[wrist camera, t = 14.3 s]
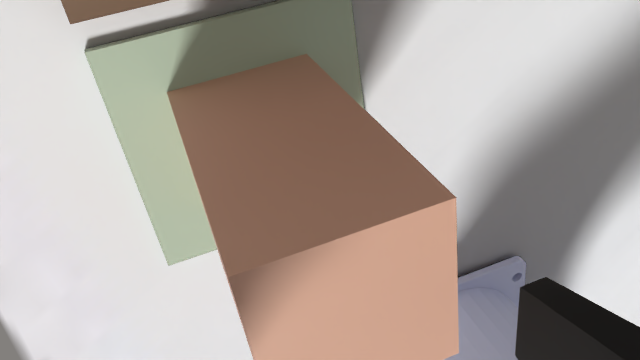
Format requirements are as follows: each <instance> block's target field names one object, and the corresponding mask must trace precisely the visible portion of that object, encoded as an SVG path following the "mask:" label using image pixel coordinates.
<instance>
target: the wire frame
mask: <svg viewBox="0 0 640 360" xmlns="http://www.w3.org/2000/svg"><path fill="white" fill-rule="evenodd" d="M165 1H169V0H61V2H62V4H63V7H64V9H65V12H66V14H67V17H68V20H69V22H70V24H74V23H78V22H82V21H86V20H90V19H94V18H99V17H103V16H107V15H111V14H115V13H119V12H123V11H127V10H132V9H136V8H140V7H144V6H148V5H152V4H156V3H161V2H165Z"/></svg>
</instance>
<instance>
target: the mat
mask: <svg viewBox="0 0 640 360" xmlns="http://www.w3.org/2000/svg"><path fill="white" fill-rule="evenodd" d="M304 54H307V55H308V56H309V57H310V58H311V59H312V60H314V61H315V62H316V63H317V64H318V65H319V66H320V67H321V68H322V69H323V70H324V71H325V72H326V73H327V74H328V75H329V76H330V77H331V78H332V79H333V80H334V81H335V82H336V83H337V84H338V85H340V86H341V87H342V88H343V89H344V90H345V91H346V92H347V93H348V94H349V95H350V96H351V97H352V98H353V99H354V100H355V101H356V102H357V103H358V104H359V105H360V106H361V107H362V108H363V109H364V104H363V96H362V87H361V78H360V70H359V61H358V53H357V44H356V35H355V27H354V18H353V10H352V1H351V0H279V1H275V2H271V3H267V4H263V5H259V6H255V7H251V8H247V9H243V10H239V11H235V12H231V13H227V14H223V15H219V16H216V17H212V18H208V19H204V20H200V21H196V22H192V23H188V24H184V25H180V26H176V27H172V28H168V29H164V30H160V31H156V32H152V33H148V34H144V35H140V36H136V37H132V38H128V39H124V40H120V41H116V42H112V43H108V44H104V45H100V46H96V47H92V48H88V49H85V55H86V57H87V60H88V62H89V65H90V67H91V70H92V73H93V75H94V78H95V80H96V83H97V85H98V88H99V90H100V93H101V95H102V98H103V100H104V103H105V106H106V108H107V111H108V113H109V116H110V118H111V121H112V123H113V126H114V128H115V131H116V134H117V136H118V139H119V141H120V144H121V146H122V149H123V151H124V154H125V156H126V159H127V162H128V164H129V167H130V169H131V172H132V174H133V177H134V179H135V182H136V184H137V187H138V189H139V192H140V195H141V197H142V200H143V202H144V205H145V207H146V210H147V212H148V215H149V217H150V220H151V223H152V225H153V228H154V230H155V233H156V235H157V238H158V240H159V243H160V245H161V248H162V251H163V253H164V256H165V258H166V261H167V263H168V266H169V265H172V264H175V263H178V262H181V261H184V260H187V259H190V258H193V257H196V256H199V255H202V254H205V253H208V252H211V251H214V250H217V246H216V243H215V240H214V237H213V234H212V231H211V228H210V225H209V222H208V219H207V216H206V213H205V210H204V207H203V204H202V201H201V197H200V194H199V191H198V188H197V185H196V182H195V179H194V176H193V173H192V170H191V166H190V163H189V160H188V157H187V154H186V151H185V148H184V145H183V142H182V139H181V135H180V132H179V129H178V126H177V123H176V120H175V117H174V114H173V111H172V107H171V104H170V101H169V98H168V95H167V92H169V91H172V90H176V89H180V88H183V87H187V86H191V85H194V84H198V83H202V82H205V81H209V80H212V79H216V78H220V77H223V76H227V75H231V74H234V73H238V72H242V71H245V70H249V69H253V68H256V67H260V66H264V65H267V64H271V63H275V62H278V61H282V60H285V59H289V58H293V57H296V56H300V55H304Z"/></svg>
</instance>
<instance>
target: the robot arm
mask: <svg viewBox="0 0 640 360" xmlns="http://www.w3.org/2000/svg"><path fill="white" fill-rule="evenodd" d="M525 275H526V262H525V261H524V260H523V259H522V258H521V257H519V256H515V257H511V258H509V259H506V260H504V261H501V262H498V263H496V264H493V265H491V266H488V267H485V268H483V269H480V270H477V271H475V272H472V273H470V274H467V275H464V276H462V277H459V278H458V327H459V353H458V354H456V355H453V356H451V357H448V358H446V359H444V360H640V327H638V326H636V325H635V324H633V323H631V322H629V321H627V320H625V319H623V318H621V317H619V316H618V315H616V314H614V313H612V312H610V311H608V310H606V309H605V308H603V307H601V306H599V305H597V304H595V303H593V302H592V301H590V300H588V299H586V298H584V297H582V296H581V295H579V294H577V293H575V292H573V291H571V290H569V289H568V288H566V287H564V286H562V285H560V284H558V283H556V282H555V281H553V280H551V279H549V278H547V277H545V278H542V279H540V280H537V281H535V282H532V283H530V284H527V285H525Z"/></svg>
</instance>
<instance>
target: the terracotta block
mask: <svg viewBox="0 0 640 360" xmlns="http://www.w3.org/2000/svg"><path fill="white" fill-rule="evenodd" d="M167 95H168V98H169V101H170V104H171V107H172V111H173V114H174V117H175V120H176V123H177V126H178V129H179V132H180V135H181V139H182V142H183V145H184V148H185V151H186V154H187V157H188V160H189V163H190V166H191V170H192V173H193V176H194V179H195V182H196V185H197V188H198V191H199V194H200V197H201V201H202V204H203V207H204V210H205V213H206V216H207V219H208V222H209V225H210V228H211V231H212V234H213V237H214V240H215V243H216V246H217V250H218V253H219V256H220V259H221V262H222V265H223V268H224V271H225V274H226V277H227V280H228V283H229V286H230V289H231V292H232V295H233V298H234V301H235V304H236V307H237V310H238V314H239V317H240V320H241V323H242V326H243V329H244V332H245V335H246V338H247V341H248V344H249V347H250V350H251V353H252V356H253V359H254V360H444V359H446V358H448V357H451V356H453V355H456V354H458V353H459V327H458V273H457V218H456V197H455V196H454V195H453V194H452V193H451V192H450V191H449V190H448V189H447V188H446V187H445V186H444V185H442V184H441V183H440V182H439V181H438V180H437V179H436V178H435V177H434V176H433V175H432V174H431V173H430V172H429V171H428V170H427V169H426V168H425V167H424V166H423V165H422V164H421V163H420V162H419V161H418V160H416V159H415V158H414V157H413V156H412V155H411V154H410V153H409V152H408V151H407V150H406V149H405V148H404V147H403V146H402V145H401V144H400V143H399V142H398V141H397V140H396V139H395V138H394V137H393V136H392V135H390V134H389V133H388V132H387V131H386V130H385V129H384V128H383V127H382V126H381V125H380V124H379V123H378V122H377V121H376V120H375V119H374V118H373V117H372V116H371V115H370V114H369V113H368V112H367V111H366V110H364V109H363V108H362V107H361V106H360V105H359V104H358V103H357V102H356V101H355V100H354V99H353V98H352V97H351V96H350V95H349V94H348V93H347V92H346V91H345V90H344V89H343V88H342V87H341V86H340V85H338V84H337V83H336V82H335V81H334V80H333V79H332V78H331V77H330V76H329V75H328V74H327V73H326V72H325V71H324V70H323V69H322V68H321V67H320V66H319V65H318V64H317V63H316V62H315V61H314V60H312V59H311V58H310V57H309V56H308V55H307V54H304V55H300V56H296V57H293V58H289V59H285V60H282V61H278V62H275V63H271V64H267V65H264V66H260V67H256V68H253V69H249V70H245V71H242V72H238V73H234V74H231V75H227V76H223V77H220V78H216V79H212V80H209V81H205V82H202V83H198V84H194V85H191V86H187V87H183V88H180V89H176V90H172V91H169V92H167Z"/></svg>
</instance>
